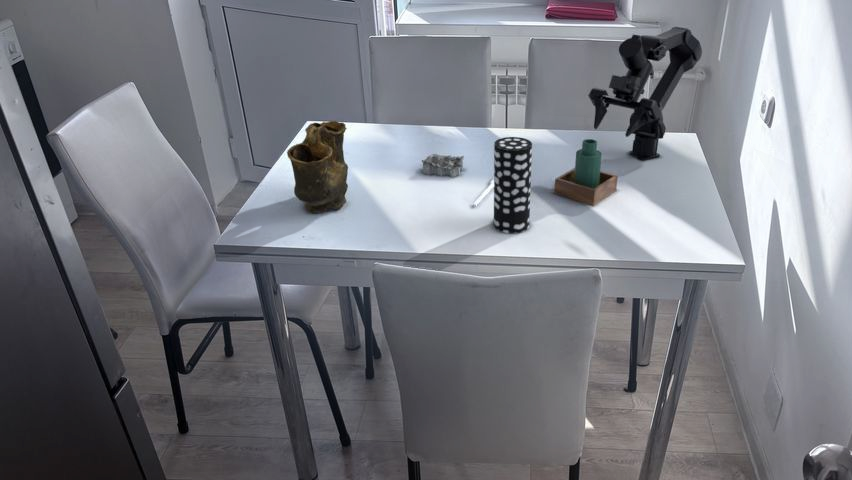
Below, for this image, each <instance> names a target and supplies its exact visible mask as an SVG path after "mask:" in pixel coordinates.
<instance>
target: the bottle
mask: <svg viewBox="0 0 852 480" xmlns="http://www.w3.org/2000/svg"><path fill="white" fill-rule="evenodd" d="M602 156H603V152H601V150H598V141H597V140H596V139H593V138H585V139H583V140H582V145H581V148H580V149H577V150H576V152H575V162H574V163H575V164H574V168H575V175H574V183H576V184H579V185H583V186H586V187H589V188H593V189H594V188H596V187H597V186H599V179H600V171H601V168H602Z"/></svg>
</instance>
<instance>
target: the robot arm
mask: <svg viewBox="0 0 852 480" xmlns="http://www.w3.org/2000/svg"><path fill="white" fill-rule="evenodd" d="M702 49H703V48H702V45H701V42H700V41H699V40H698V38H696V37H695V36H694V35H693V34H692V30H691V29H689V28H688V27H682V26H673V27H671V29H669V30H667V31H664V32H661V33H659V34H657V35H648V34H642V35H640V34H639V35H638V34H634V33H633V34H632V36H631V37H629V38H627V39H625V40H624V41H622V42H621V43H620V44H619V46H618V53H619V56H620V57H621V61H622V62H623V64H624V66H625V68H626V69H627V71H626V73H625V75H622V76H621V75H615V74H612V75H611V79H610V82H609V85H608V89H612V94H613V95H615V96H611V95H609V94H608V91H607V90H606V89H603V88H597V87H593V88H591V89H590V91H589V93H588V94H587V96H588V98H589V100H590V102H591V104H592V105H593V106H594V110H595V111H594V113H595V114H594V122H593V129H594V130H597V129H598V128H599V126H600V125H601V123H602V121H603V120H604V119H605V116H606V114H607V113H608V109H607V108H609V107H610V105H613V106H618V107H621V108H622V107H623V108H626V109H630V110H633V112H632V113H631V115H630V116H629V125H628V127H627V129H626V132H625V137H626V138H628V137H629V136H631V135H634V139H633V141H632V150H630V151H629V154H630V155H632V156H634V157H636V158H637V159H640V160H641V161H646V160H651V159H655V158H660V157H661V154H660V153H658V145H659V140H661V139H664V136H665V134H666V129H667V128H666V125H665V123H664V115H663V110H664V108H665V107H666V105H667V103H668V101H669V100H670V98H671V96H672V95H673V92H674V90H675V89H676V88H677V86H678V85H679V82H680V80H681V78H682V77H683V75H684V74H685V73H687V72H689V71H691V70H692V69H694V67H695V66H696V65H697V63H698V62H699V61H700V60H701V58H702V54H703V50H702ZM667 52H668V55H669V64H668V66H667V67H666V69H665V71H664V73H663V74H662V76H661V78H660V80H659V81H658V83H657V84H656V86H655V88H654V89H653V91H652V93H651V95H650V96H649V98H646V97H642V98H641V99H640V97H641V95H644V94H645V89H644V88H645V86H646V84H647V82H648V80H649V78H650V76H654V72H655V71H654V66H653V64H652V62H651V61H653V62H660V61H662V59H664V58H665V57H666V55H667ZM639 99H640V100H639Z"/></svg>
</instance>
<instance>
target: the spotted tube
mask: <svg viewBox="0 0 852 480" xmlns="http://www.w3.org/2000/svg"><path fill="white" fill-rule="evenodd" d="M493 144H494V145H493V178H494V187H493V227H494V229H496V230H497V231H499V232H501V233H505V234H519V233H523V232H525V231H527V230H528V229H529V228H530V218H531V217H530V216H531V191H532V190H531V189H532V187H531V185H532V163H533V162H532V161H533V160H532V159H533V142H532V141H531V140H529V139H527V138H524V137H518V136H506V137H501V138H498V139H496V140H495V141H494V143H493Z"/></svg>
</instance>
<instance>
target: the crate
mask: <svg viewBox="0 0 852 480" xmlns="http://www.w3.org/2000/svg"><path fill="white" fill-rule="evenodd" d="M574 175H575V167H573V168H572V169H570V170H568V171H566V172H565V173H563V174H561V175H559V176H557V177H556V178H555V179H554V191H553V193H554V194H555V195H558V196H561V197H565V198H567V199H571V200H574V201H577V202H580V203H583V204H586V205H590V206H595V205H597V204H598V203H600V202H601V201H603V200H604V199H606V198H607V197H609V196H610V195H612V194H613V193H615V192H616V191H617V186H618V179H619V177H618V175H616V174H612V173H610V172H609V173H608V172H605V171H601V170H600V179H599V186H597V187H596V188H594V189H593V188H589V187H586V186H583V185H579V184H576V183H574Z"/></svg>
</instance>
